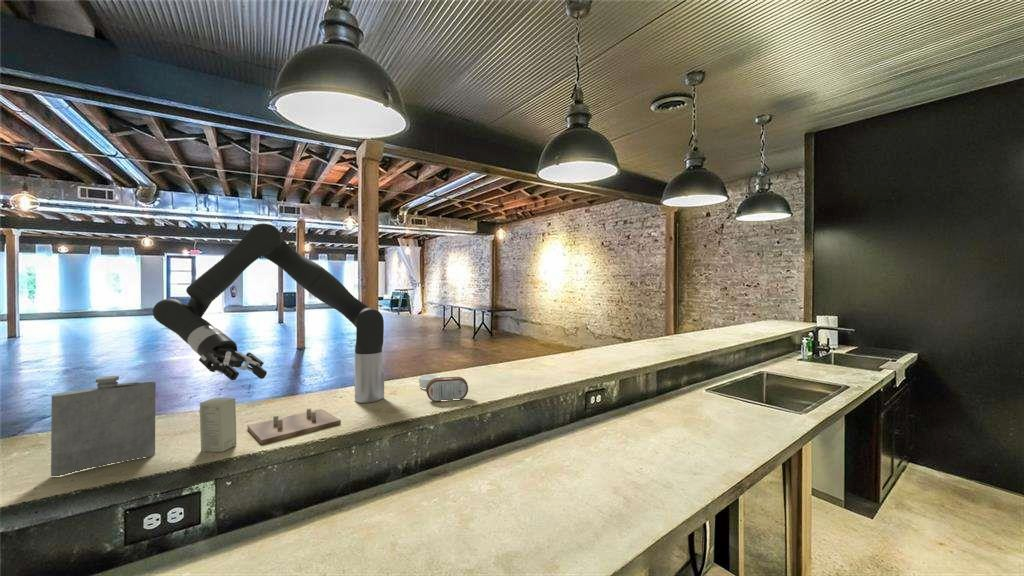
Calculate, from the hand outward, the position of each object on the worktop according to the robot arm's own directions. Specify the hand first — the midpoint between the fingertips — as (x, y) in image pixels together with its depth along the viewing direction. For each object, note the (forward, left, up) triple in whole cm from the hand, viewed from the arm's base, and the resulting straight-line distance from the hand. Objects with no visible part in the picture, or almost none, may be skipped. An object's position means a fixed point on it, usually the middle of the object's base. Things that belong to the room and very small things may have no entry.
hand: (250, 376), depth 97 cm
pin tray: (-11, -3, -17) cm, 21 cm away
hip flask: (+26, -9, -17) cm, 32 cm away
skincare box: (+7, -1, -17) cm, 19 cm away
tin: (-57, +9, -17) cm, 61 cm away
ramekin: (-63, -11, -17) cm, 67 cm away
